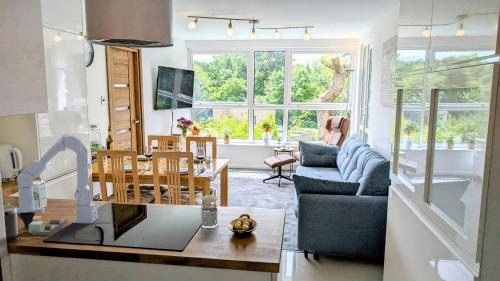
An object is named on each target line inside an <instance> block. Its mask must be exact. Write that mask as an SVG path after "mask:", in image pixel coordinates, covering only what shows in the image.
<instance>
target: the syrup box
mask: <svg viewBox="0 0 500 281" xmlns="http://www.w3.org/2000/svg"><path fill="white" fill-rule="evenodd" d="M32 188H33V197H34V207H41V208H45V207H48V203H47V202H48V200H47V188H46V181H45V180H33V184H32Z"/></svg>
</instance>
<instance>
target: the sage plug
mask: <svg viewBox="0 0 500 281" xmlns="http://www.w3.org/2000/svg"><path fill="white" fill-rule="evenodd" d="M45 225H46V224H45V221H44V220H43V221H33V222H32V223H30V224H29V228H28V232H29V233H31V234H32V231H46V229H45Z"/></svg>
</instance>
